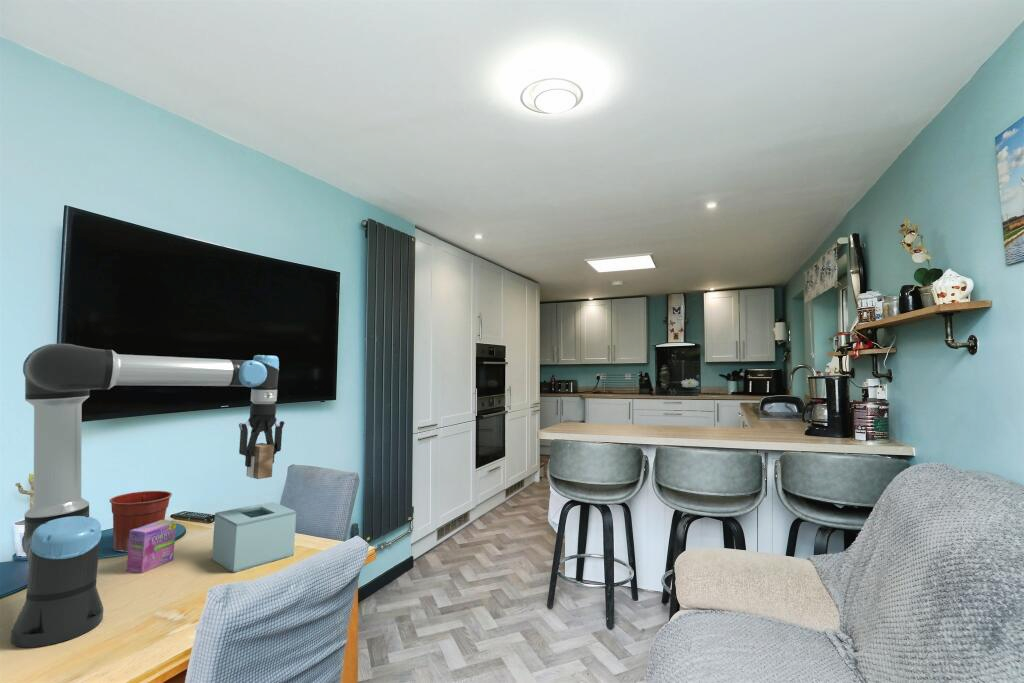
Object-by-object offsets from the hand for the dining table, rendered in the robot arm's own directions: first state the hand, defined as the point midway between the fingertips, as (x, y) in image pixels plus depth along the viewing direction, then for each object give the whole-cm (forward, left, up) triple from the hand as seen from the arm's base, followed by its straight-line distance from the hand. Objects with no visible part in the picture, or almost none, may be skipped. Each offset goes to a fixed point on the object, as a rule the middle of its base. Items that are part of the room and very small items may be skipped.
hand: (259, 475), depth 153 cm
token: (0, 0, 0) cm, 0 cm away
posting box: (0, 0, -26) cm, 26 cm away
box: (-23, +15, -26) cm, 38 cm away
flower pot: (-21, +36, -26) cm, 49 cm away
